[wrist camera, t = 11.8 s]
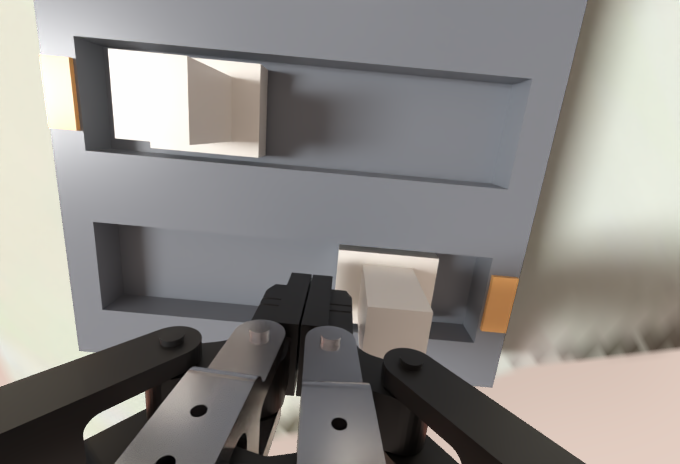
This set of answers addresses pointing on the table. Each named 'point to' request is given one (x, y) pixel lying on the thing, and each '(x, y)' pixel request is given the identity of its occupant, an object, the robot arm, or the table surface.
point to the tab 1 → (189, 102)
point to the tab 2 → (388, 296)
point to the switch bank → (310, 158)
